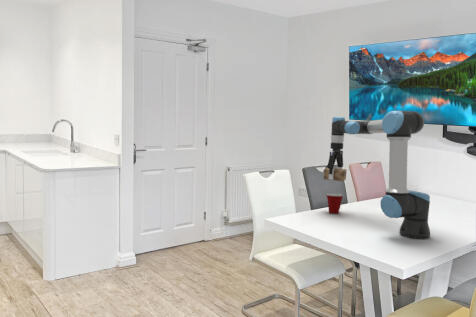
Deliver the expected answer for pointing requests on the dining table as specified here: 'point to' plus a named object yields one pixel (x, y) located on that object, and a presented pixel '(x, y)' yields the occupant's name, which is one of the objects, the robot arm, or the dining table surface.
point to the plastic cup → (334, 202)
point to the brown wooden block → (336, 174)
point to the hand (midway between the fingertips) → (334, 178)
